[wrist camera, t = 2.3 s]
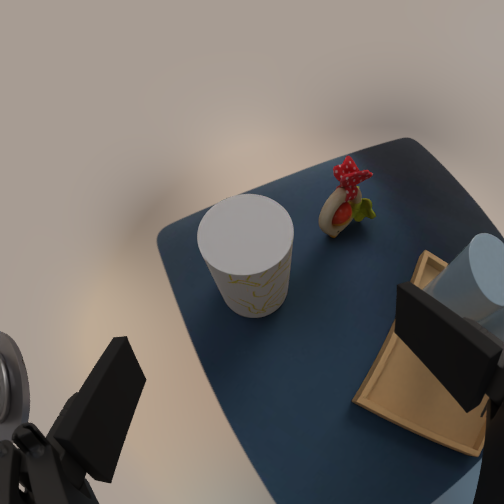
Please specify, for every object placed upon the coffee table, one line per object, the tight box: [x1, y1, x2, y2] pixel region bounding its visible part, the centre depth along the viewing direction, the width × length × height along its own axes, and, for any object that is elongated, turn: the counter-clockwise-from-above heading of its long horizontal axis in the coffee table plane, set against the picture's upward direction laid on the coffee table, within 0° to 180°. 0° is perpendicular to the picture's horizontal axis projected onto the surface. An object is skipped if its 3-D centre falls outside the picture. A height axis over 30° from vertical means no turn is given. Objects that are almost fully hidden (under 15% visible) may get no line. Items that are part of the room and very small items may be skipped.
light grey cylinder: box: [197, 194, 294, 318], centre depth 28 cm, size 8×8×12 cm
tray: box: [352, 250, 489, 457], centre depth 25 cm, size 22×22×2 cm
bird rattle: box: [319, 156, 376, 238], centre depth 33 cm, size 6×11×9 cm
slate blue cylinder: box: [422, 233, 504, 323], centre depth 24 cm, size 8×8×12 cm
